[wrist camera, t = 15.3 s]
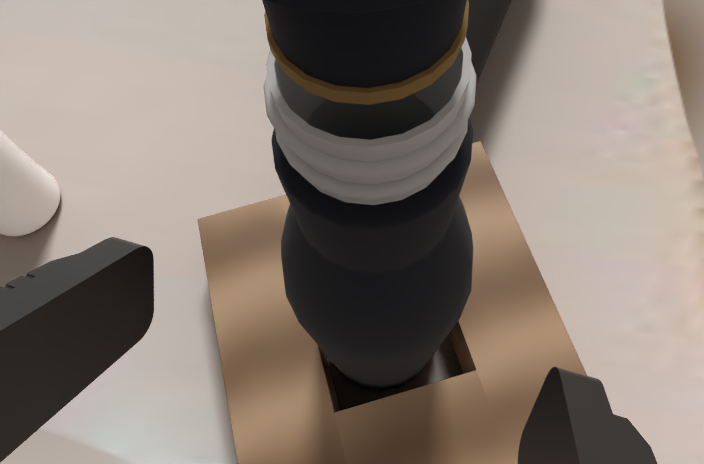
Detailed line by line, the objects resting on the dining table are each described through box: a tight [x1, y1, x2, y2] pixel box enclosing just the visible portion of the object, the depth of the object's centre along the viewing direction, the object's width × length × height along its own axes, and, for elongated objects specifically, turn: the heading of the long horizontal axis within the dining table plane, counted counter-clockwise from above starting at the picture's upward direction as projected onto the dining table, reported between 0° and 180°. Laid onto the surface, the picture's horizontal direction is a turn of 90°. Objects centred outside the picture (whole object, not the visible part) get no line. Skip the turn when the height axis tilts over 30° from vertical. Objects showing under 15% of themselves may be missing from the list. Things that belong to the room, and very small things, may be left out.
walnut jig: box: [198, 141, 587, 464], centre depth 28 cm, size 18×18×4 cm
